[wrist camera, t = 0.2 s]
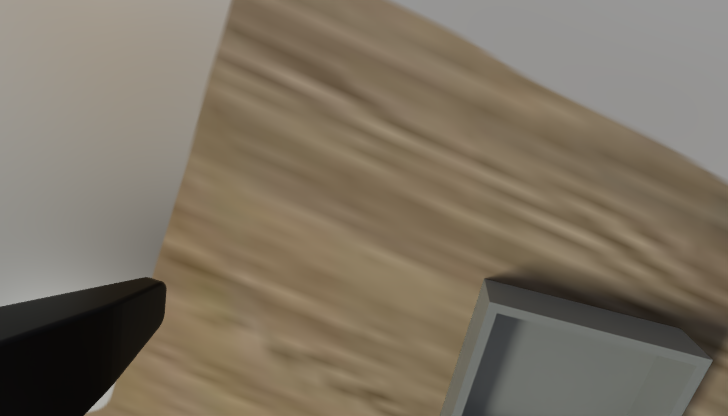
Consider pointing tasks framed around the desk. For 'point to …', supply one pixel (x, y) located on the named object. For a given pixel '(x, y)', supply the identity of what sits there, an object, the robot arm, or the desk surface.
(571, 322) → the grey square tray
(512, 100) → the desk surface
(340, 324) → the desk surface
